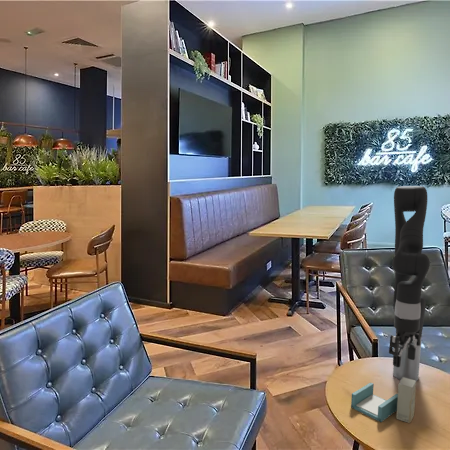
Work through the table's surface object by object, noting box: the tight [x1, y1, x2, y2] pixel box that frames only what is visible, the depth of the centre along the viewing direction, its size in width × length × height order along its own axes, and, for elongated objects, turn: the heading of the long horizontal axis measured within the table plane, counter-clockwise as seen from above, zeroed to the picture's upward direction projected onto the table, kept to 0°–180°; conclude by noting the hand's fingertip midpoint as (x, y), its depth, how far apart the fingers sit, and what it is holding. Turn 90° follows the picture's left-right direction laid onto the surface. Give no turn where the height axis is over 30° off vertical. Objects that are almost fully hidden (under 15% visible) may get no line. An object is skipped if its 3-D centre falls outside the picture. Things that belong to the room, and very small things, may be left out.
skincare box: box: [395, 377, 417, 424], centre depth 136 cm, size 6×4×12 cm
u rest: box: [350, 382, 398, 423], centre depth 141 cm, size 12×11×5 cm
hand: (403, 362), depth 135 cm, fingers open, 8 cm apart
